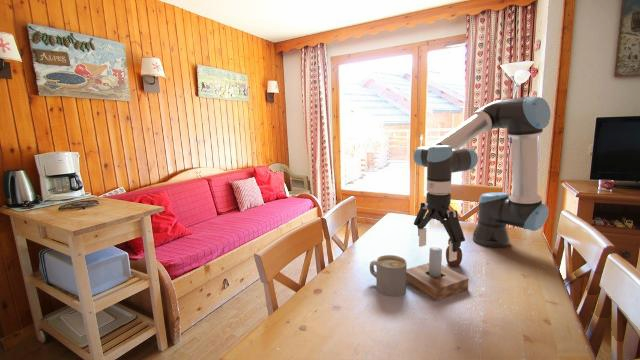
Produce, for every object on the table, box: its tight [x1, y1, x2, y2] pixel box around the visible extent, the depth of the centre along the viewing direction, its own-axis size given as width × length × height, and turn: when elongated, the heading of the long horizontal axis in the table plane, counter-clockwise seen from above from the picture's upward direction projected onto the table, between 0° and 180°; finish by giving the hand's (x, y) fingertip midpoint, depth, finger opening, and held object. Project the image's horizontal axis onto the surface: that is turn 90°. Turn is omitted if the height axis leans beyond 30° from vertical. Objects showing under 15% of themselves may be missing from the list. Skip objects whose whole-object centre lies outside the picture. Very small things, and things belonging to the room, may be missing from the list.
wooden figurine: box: [445, 237, 463, 268], centre depth 122 cm, size 7×6×15 cm
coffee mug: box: [369, 254, 408, 297], centre depth 108 cm, size 13×10×10 cm
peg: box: [428, 246, 443, 279], centre depth 108 cm, size 4×4×12 cm
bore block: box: [406, 262, 469, 302], centre depth 109 cm, size 15×15×4 cm
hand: (436, 252), depth 107 cm, fingers open, 13 cm apart
